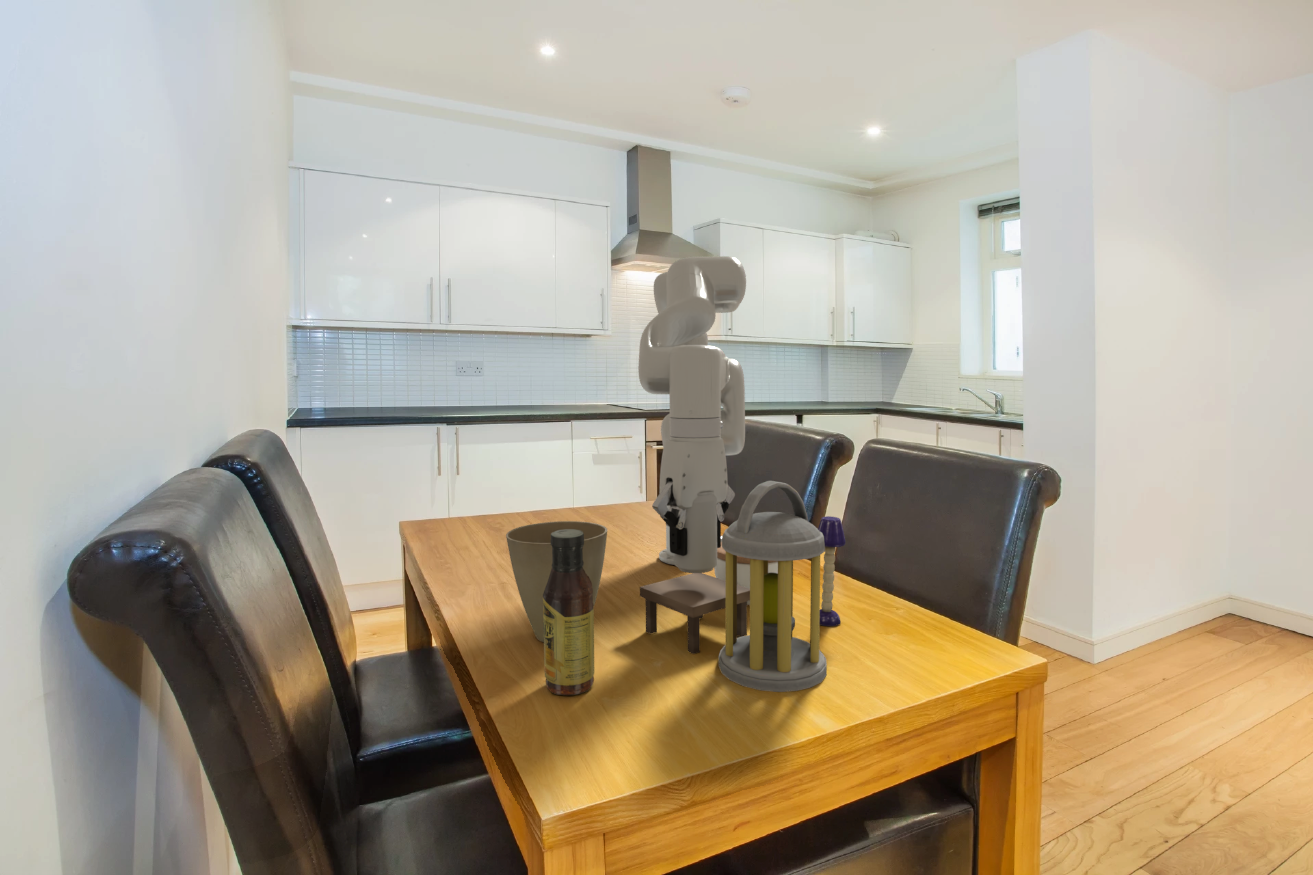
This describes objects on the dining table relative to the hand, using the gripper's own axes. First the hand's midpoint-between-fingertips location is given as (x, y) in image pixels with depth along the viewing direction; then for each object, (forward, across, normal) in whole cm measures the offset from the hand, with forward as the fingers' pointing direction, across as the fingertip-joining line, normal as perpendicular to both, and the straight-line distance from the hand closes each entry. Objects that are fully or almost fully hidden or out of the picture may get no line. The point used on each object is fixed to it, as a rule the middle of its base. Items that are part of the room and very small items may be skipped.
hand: (695, 548), depth 100 cm
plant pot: (+13, +16, -13) cm, 25 cm away
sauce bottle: (+13, +24, +3) cm, 27 cm away
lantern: (+13, 0, +15) cm, 20 cm away
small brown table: (+13, 0, 0) cm, 13 cm away
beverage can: (+3, 0, 0) cm, 3 cm away
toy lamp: (+13, -19, +10) cm, 25 cm away
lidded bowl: (+13, -18, -6) cm, 23 cm away
